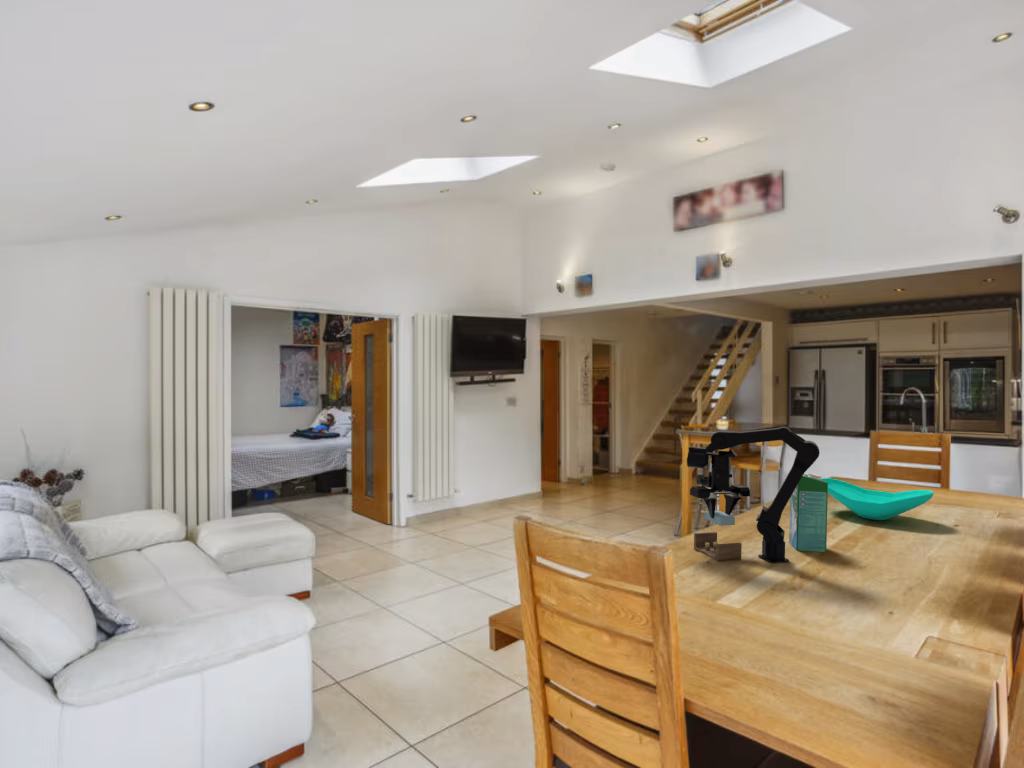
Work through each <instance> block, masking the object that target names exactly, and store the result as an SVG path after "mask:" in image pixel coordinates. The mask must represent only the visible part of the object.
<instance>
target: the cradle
mask: <svg viewBox="0 0 1024 768" xmlns="http://www.w3.org/2000/svg"><path fill="white" fill-rule="evenodd" d="M693 535H694V536H693V549H694V548H695V549H694V550H696V549H697V550H696V551H698V552H700V553H702V554H704V555H706V556H708V557H710V558H712V559H714V560H715V561H717V562H727V561H738V560H742V542H729V543H728V542H727V543H718V532H717V531H708V532H707V531H705V532H694V534H693Z"/></svg>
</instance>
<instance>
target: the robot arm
mask: <svg viewBox="0 0 1024 768" xmlns="http://www.w3.org/2000/svg"><path fill="white" fill-rule="evenodd" d="M776 441H782V442H783V443H785V444H787V446H788V447H790V448H791V449H792V450H794V451H795V452H796V454H795V457H794V459H793V464H792V466H791V467H790V470H789V471H788V474H787V475H786V476H785V479H784V480H783V482H782V483H781V486H780V488H779V490H778V491H777V493H776V495H775V497H774V498H773V501H772V502H771V503H770V505H769V506H768V507H766V506H765V505H763V506H762V508H761V511H760V513H759V514H757V515H756V520H755V521H756V522H757V523H756V529H757V531H758V533H759V534H761V536H762V543H761V554H758V555H757V556H758V558H760V559H763V560H765V561H768V562H770V563H771V564H773V563H774V564H776V563H785V562H790V559H789V558H786V541H785V531H786V530H784V529H783V528H782V527H781V526H780V525H779V524H780V520H781V518H782V515H783V512H784V510H785V508H786V505H788V503H789V501H790V497H791V495H792V494H793V492H794V490H795V488H796V487H797V485H798V483H799V481H800V480H801V478H802V476H803V474H806V472H807V470H808V469H810V468H811V467H812V465H813V464H814V463H815V462H816V461H817V460H818V458H819V457H820V447H819V445H818V444H817V443H816V442H815V441H811V440H805V439H804V438H803V437H801V436H800V435H798V434H797V433H795V432H793V431H792V430H791V429H790V428H789V427H786V426H781V427H776V428H775V427H774V428H766V429H758V430H757V429H756V430H746V431H745V430H744V431H735V430H718V431H716V432H715V433H713V434H712V436H711V437H710V443H709V444H708V445H706V446H705V447H697V446H689V447H688V453H687V457H686V465H687V466H686V467H687V468H692V469H706V468H707V466H708V467H709V466H710V465H711V466H710V467H711V468H710V469H711V470H710V471H708V475H707V476H705V475H704V474H702V473H701V474H697V475H696V479H695V480H696V486H691V487H690V489H689V495H690V496H691V497H692V496H693V497H694V498H697V499H703V501H704V502H705V505H706V507H707V511H709V514H710V517H711V518H712V519H713V518H714V515H715V511H716V505H717V498H715V497H714V495H723V496H724V500H725V502H724V503H725V505H724V506H725V510H724V513H725V514H728V515H730V516H731V514H732V512H733V510H734V509H735V507H736V505H737V503H738V502H739V500H742V497H744V498H745V497H751V489H750V487H749V486H745V485H744V484H743V485H742V484H731V478H733V474H732V473H731V458H736V457H737V456H738V454H737V453H736V452H735V451H734V450H733V449H732V448H733V447H736V446H737V447H738V446H740V445H745V444H756V443H764V442H766V443H767V442H776ZM726 449H729V450H726ZM717 450H718V452H715V451H717ZM710 463H711V464H710ZM697 485H698V486H697Z"/></svg>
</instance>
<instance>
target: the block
mask: <svg viewBox="0 0 1024 768" xmlns="http://www.w3.org/2000/svg"><path fill="white" fill-rule="evenodd" d="M735 518H736V517H735V516H732V515H731V514H730V515H728V514H725V512H723V511H722V510H721V511H720V510H715V515H714V518H713V519H712V518H711V517H710V514H709V511H708V510H707V511H704V519H705V520H707V521H709V522H712V523H714V524H715V525H718V526H735V524H736V519H735Z"/></svg>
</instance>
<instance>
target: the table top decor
mask: <svg viewBox="0 0 1024 768" xmlns="http://www.w3.org/2000/svg"><path fill="white" fill-rule="evenodd" d="M821 479H822V480H823V481H825V482H827V483H828V494H829V495H830V496H831V497H832V498H833V499H834V500H836V501H838V502H839V503H840V504H841V505H843V506H844V507H845V508H847V509H848V510H850V511H851V512H852V513H854V514H856V515H857V516H859V517H861V518H863V519H867V520H871V521H872V520H873V521H885V520H889V519H892V518H894V517H897V516H900V515H902V514H904V513H906V512H909V511H911V510H913V509H915V508H918V507H920V506H921V505H924V504H926V503H927V502H929V501H930V500H931V499H932V498H933V496H934V495H935V494H934V491H933V490H930V489H913V490H904V491H899V492H890V491H889V492H888V491H881V490H873V489H866V488H863V487H861V486H858V485H856V484H853V483H850V482H846V481H844V480H841V479H835V478H830V477H827V478H826V477H821Z"/></svg>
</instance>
